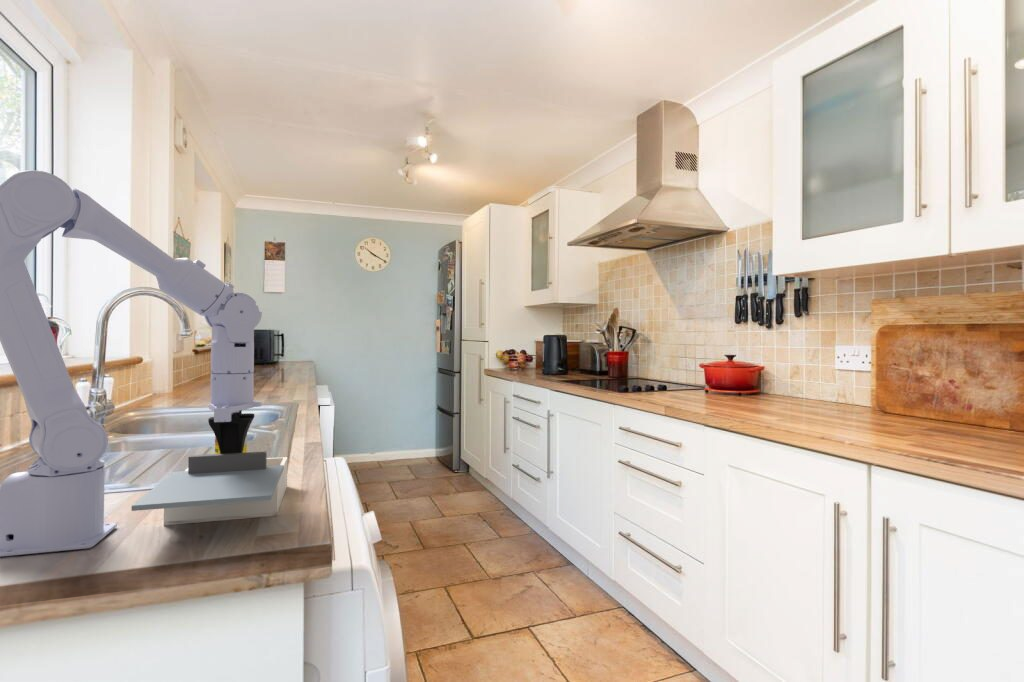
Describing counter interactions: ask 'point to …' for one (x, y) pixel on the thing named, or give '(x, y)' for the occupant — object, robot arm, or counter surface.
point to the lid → (215, 482)
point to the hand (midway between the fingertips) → (231, 463)
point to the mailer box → (232, 505)
